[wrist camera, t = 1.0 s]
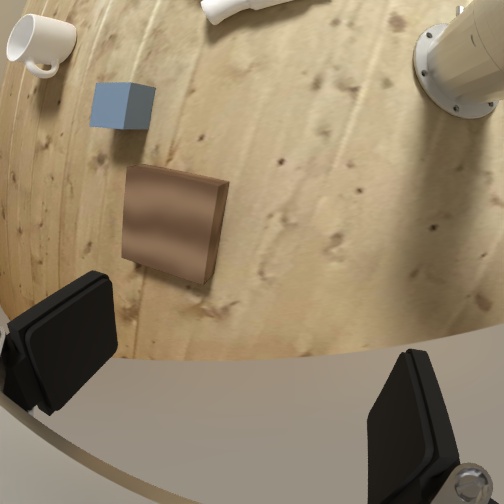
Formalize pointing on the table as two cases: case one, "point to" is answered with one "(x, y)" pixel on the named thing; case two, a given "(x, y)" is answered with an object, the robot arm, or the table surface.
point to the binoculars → (233, 7)
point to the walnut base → (173, 221)
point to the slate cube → (122, 106)
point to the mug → (41, 43)
